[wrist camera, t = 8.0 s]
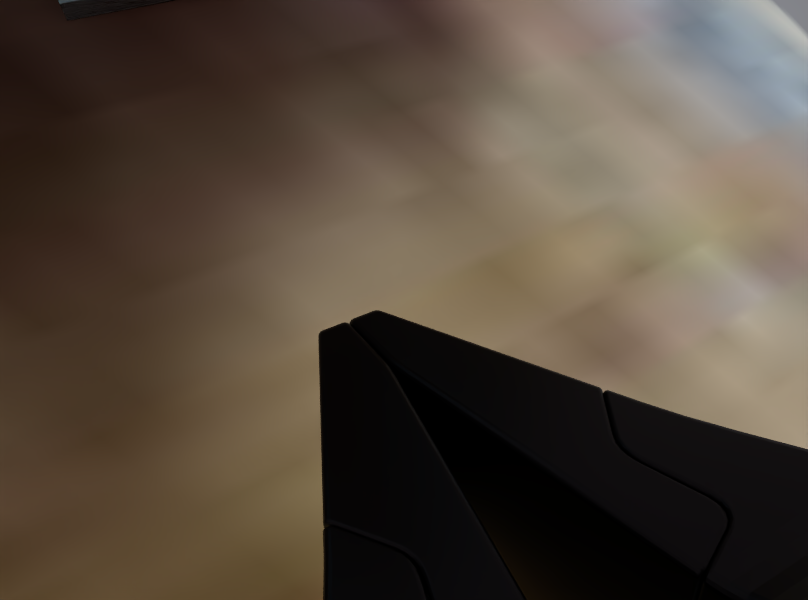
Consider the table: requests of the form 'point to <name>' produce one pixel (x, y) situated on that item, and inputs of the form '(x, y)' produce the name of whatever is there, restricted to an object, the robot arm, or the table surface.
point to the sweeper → (100, 6)
